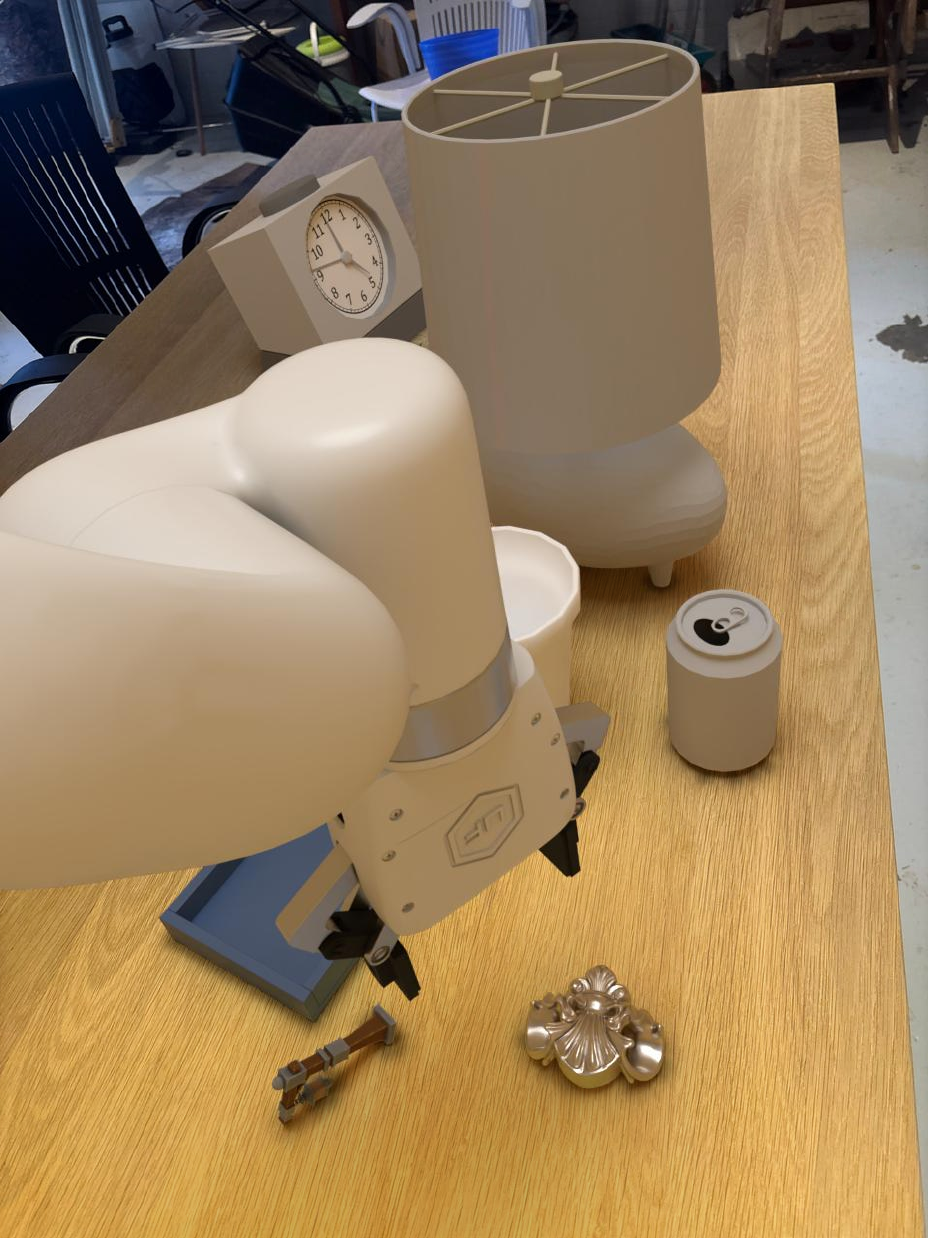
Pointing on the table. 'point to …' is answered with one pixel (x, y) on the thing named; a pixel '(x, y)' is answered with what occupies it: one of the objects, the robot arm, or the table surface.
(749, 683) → the can
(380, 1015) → the wooden post with brackets
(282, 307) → the alarm clock
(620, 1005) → the ornament
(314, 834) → the blue tray
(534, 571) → the cup
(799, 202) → the table surface
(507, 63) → the table lamp
